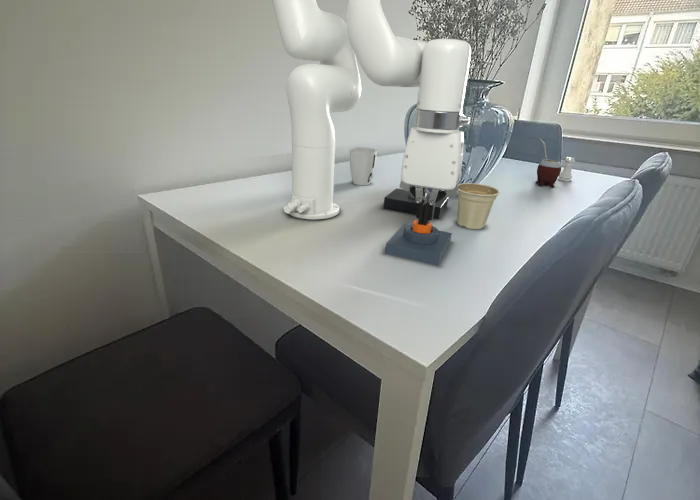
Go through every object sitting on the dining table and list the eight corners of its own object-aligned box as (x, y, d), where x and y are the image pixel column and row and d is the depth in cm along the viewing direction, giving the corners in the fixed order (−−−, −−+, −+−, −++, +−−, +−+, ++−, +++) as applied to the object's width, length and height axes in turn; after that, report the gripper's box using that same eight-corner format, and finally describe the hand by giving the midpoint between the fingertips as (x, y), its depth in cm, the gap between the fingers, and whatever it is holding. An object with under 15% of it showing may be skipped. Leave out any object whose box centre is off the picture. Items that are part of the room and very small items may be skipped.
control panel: (446, 208, 101) (448, 196, 100) (438, 219, 92) (440, 207, 91) (395, 198, 106) (396, 188, 104) (383, 209, 97) (384, 197, 96)
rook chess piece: (558, 178, 140) (564, 155, 137) (572, 180, 138) (578, 157, 135) (556, 180, 137) (562, 157, 134) (570, 182, 135) (577, 159, 131)
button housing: (438, 266, 70) (441, 245, 68) (385, 253, 73) (387, 234, 71) (450, 242, 80) (453, 224, 78) (403, 233, 83) (405, 215, 81)
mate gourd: (560, 186, 129) (573, 140, 123) (547, 189, 125) (560, 141, 119) (539, 181, 135) (551, 136, 128) (526, 183, 130) (538, 137, 124)
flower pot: (467, 234, 84) (474, 196, 81) (441, 219, 92) (447, 184, 89) (500, 230, 88) (509, 193, 84) (473, 216, 96) (479, 182, 92)
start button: (428, 236, 73) (429, 227, 72) (409, 232, 74) (411, 223, 73) (432, 229, 76) (434, 221, 75) (414, 226, 77) (415, 218, 76)
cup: (374, 187, 115) (377, 153, 111) (347, 185, 115) (349, 151, 111) (373, 180, 122) (376, 148, 118) (348, 178, 122) (349, 146, 118)
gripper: (485, 123, 67) (466, 223, 75) (401, 116, 72) (392, 210, 80) (480, 127, 61) (460, 236, 68) (388, 119, 66) (380, 221, 73)
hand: (423, 222), depth 74 cm, fingers closed
